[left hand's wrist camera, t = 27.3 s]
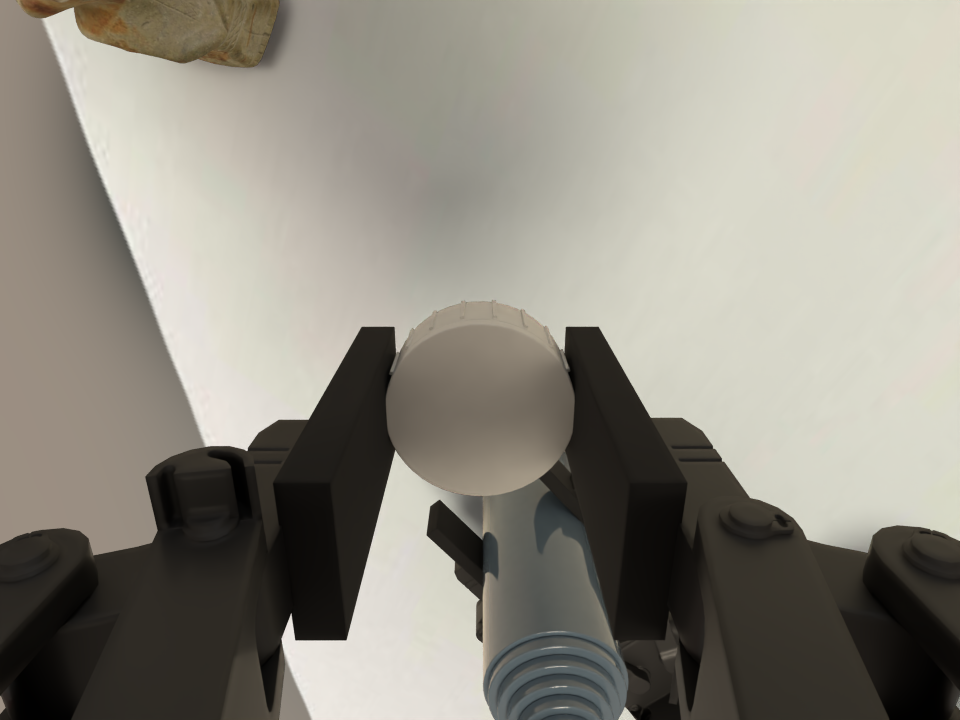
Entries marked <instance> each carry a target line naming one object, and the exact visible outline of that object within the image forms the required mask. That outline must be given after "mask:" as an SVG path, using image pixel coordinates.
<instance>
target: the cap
mask: <svg viewBox="0 0 960 720" xmlns="http://www.w3.org/2000/svg"><path fill="white" fill-rule="evenodd" d="M568 372H570V368H569V365H568V363H567V360H566V357H565V354H564V352H563V349H561V350H560V349H559V347H558V345H557V344H556V342H555V340H554V339H553V337H552V336H551V335H550V332H549V329H548V327H547V326H545V327H543V326H542V325H541V324H540V323H539V322H538V321H536V320H535V319H534V318H532V317H531V316H529V315H528V314H526V313H525V310H523V309H521V311H520V310H518V309H516V308H513V307H510V306H508V305H504V304H499V303H496V301H495V300H492V302H484V301H482V302H467V303H465V301H461V304H457V305H454V306H450V307H447V308H445V309H443V310H441V311H438V312H437V311H434V312H433V314H432V316H430V317H428V318H427V319H426V320H424V321H423V322H422V323H421V324H419V326H418V327H417V328H416V329H415V330H414V329H413V328H412V329H411V330H410V333H409V336H408V339H407V340H406V341H405V343H404V345H403V347H402V349H401V351H400V353H399V352H397V354H396V356H395V359H394V362H393V365H392V367H391V370H390V373H389V374H390V375H392V376H391V379H390V382H389V385H388V388H387V392H386V413H387V428H388V434H389V437H390V439H391V442H392V444H393V446H394V448H395V449H396V451H397V453H398V455H399V456H400V457H401V458H402V460H403V461H404V462H405V464H406V465H407V466H408V467H409V468H410V469H411V470H412V471H413V472H415V473H416V474H417V475H419V476H420V477H421V478H422V479H424V480H426V481H427V482H429V483H431V484H432V485H435V486H437V487H439V488H441V489H444V490H447V491H450V492H453V493H458V494H463V495H471V496H491V495H498V494H503V493H507V492H511V491H514V490H517V489H519V488H522V487H524V486H526V485H528V484H530V483H532V482H534V481H535V480H537V479H538V478H540V477H541V476H542V475H544V474H545V473H546V472H547V471H548V470H549V469H551V468H552V466H553V465H554V464H555V463H556V462H557V461H558V460H559V458H560V457H561V455H562V454H563V452H564V451H565V449H566V447H567V445H568V443H569V441H570V439H571V436H572V433H573V420H574V404H575V393H574V389H573V386H572V382H571V379H570V376H569V374H568Z"/></svg>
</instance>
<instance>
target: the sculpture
mask: <svg viewBox="0 0 960 720" xmlns="http://www.w3.org/2000/svg"><path fill="white" fill-rule="evenodd" d="M16 1H17V3H18V4H19V5H20V7H21V8H22V9H23V11H24V12H26V13H27V14H28V15H30V16H32V17H35V18H46V17H49V16H52V15H54V14H57V13H59V12H62V11H64V10H66V9H69V8H72V7H74V12H75V18H76V23H77V25H78V28H79V30H80V31H81V33H82V34H83V35H84V36H86V37H87V38H89V39H91V40H94V41H97V42H100V43H104V44H108V45H111V46H115V47H118V48H121V49H123V50H126V51H129V52H135V53H141V54H145V55H150V56H155V57H159V58H163V59H167V60H170V61H174V62H178V63H187V62H191V61H194V60H196V59H200V60H204V61H207V62H210V63H214V64H219V65H225V66H231V67H246V68H247V67H254V66H256V65H257V64H258V63H259V62H260V60H261V58H262V56H263V54H264V51H265V48H266V46H267V43H268V40H269V38H270V35H271V32H272V29H273V25H274V22H275V20H276V16H277V12H278V7H279V0H16Z"/></svg>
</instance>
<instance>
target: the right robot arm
mask: <svg viewBox="0 0 960 720" xmlns="http://www.w3.org/2000/svg"><path fill="white" fill-rule="evenodd" d="M539 479H540V480H541V481H542V482H543V483H544V484H545V485H546V486H547V487H548V488H549V489H550V491H551V492H552V493H553V494H554V495H555V496H556V497H557V498H558V499H559V500H560V501H561V502H562V503H563V504H564V505H565V506H566V507H567V508H568V509H569V510H570V511H571V512H572V513H573V514H574V515H575V516H576V517H577V518H578V520H579V521H580V522H581V523H582V524H583V525H584V521H583V518H582V514H581V510H580V506H579V502H578V498H577V494H576V490H575V486H574V483H573V479H572V475H571V472H570V471H569V470H568V469H567V468H566V467H565V466H564V465H563V464H562V463H561V462H560V461H559V460H558V461H557V462H556V463H555V464H554V465H553V466H552V468H551V469H549V470H548V471H547V472H546V473H545V474H544V475H542V476H541V477H540V478H539ZM584 526H585V525H584ZM427 536H428V537H429V538H430V539H431V540H432V541H433V542H435V543H436V544H437V545H438V546H439V547H440V548H441V549H442V550H443V551H444V552H445V553H446V554H448V555H449V556H450V557H451V558H452V559H453V560H454V561H455V575H456V577H457V579H458V580H459V581H460V582H461V583H462V584H463V585H465V587H467V588H468V589H469V590H470V591H471V592H472V593H473V594H474V595H475V596H476V597H478V598H479V599H480V600H479V601H478V602H477V605H476V636H477V638H478V640H479V641H481V642H482V643H483V540H482V539H480V538H479V537H478V536H477V535H476V534H475V533H474V532H473V531H472V530H471V529H470V528H469V527H468V526H467V525H466V524H465V523H464V522H463V521H462V520H460V519H459V518H458V517H457V516H456V515H455V514H454V513H453V512H452V511H451V510H450V509H449V508H448V507H447V506H446V505H445V504H444V503H443V502H442V501H441V500H438V501H437V502H436V503H434V504H433V505H432V506H430V513H429V521H428V528H427ZM678 640H679V634H678V631H677V629H676V626H675V624H674V621H673V618H672V616H671V613H670V611H669V616H668V623H667V630H666V637H665V640H619V642H620V645H621V649H622V653H623V657H624V661H625V665H626V668H627V672H628V679H629V683H628V690H627V699H626V704H625V707H626V708H627V709H628V710H629V712H630V713H631V714H632V715H633V717H634V718H635V719H636V720H681V714H680V705H679V696H678V701H677V704H671V703H669V698H670V691H671V685H672V678H673V672H674V666H675V659H676V653H677V646H678Z"/></svg>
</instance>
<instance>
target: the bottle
mask: <svg viewBox="0 0 960 720" xmlns="http://www.w3.org/2000/svg"><path fill="white" fill-rule="evenodd" d="M559 461H560V462H561V463H562V464H563V465H564V466H565V467H566V468H567V469H568V470H569V471H570V467H569V463H568V459H567V455H566V453H565V452H563V454H562V455H561V457H560V458H559ZM570 472H571V471H570ZM628 683H629V679H628V672H627V668H626V665H625V661H624V657H623V653H622V649H621V645H620V642H619V640H614V638H613V634H612V631H611V627H610V623H609V619H608V615H607V611H606V607H605V603H604V599H603V595H602V592H601V588H600V584H599V580H598V576H597V572H596V568H595V564H594V560H593V557H592V553H591V549H590V545H589V541H588V537H587V533H586V529H585V526H584V525H583V524H582V523H581V522H580V521H579V520H578V518H577V517H576V516H575V515H574V514H573V513H572V512H571V511H570V510H569V509H568V508H567V507H566V506H565V505H564V504H563V503H562V502H561V501H560V500H559V499H558V498H557V497H556V496H555V495H554V494H553V493H552V492H551V491H550V489H549V488H548V487H547V486H546V485H545V484H544V483H543V482H542V481H541V480H540V479H539V478H538V479H537V480H535V481H534V482H532V483H530V484H528V485H526V486H524V487H522V488H519V489H517V490H514V491H511V492H507V493H503V494H498V495H491V496H483V691H484V696H485V699H486V702H487V704H488V706H489V709H490V711H491V714H492V716H493V718H494V719H495V720H618V719H619V717H620V715H621V714H622V712H623V709H624V707H625V704H626V699H627V690H628Z"/></svg>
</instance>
